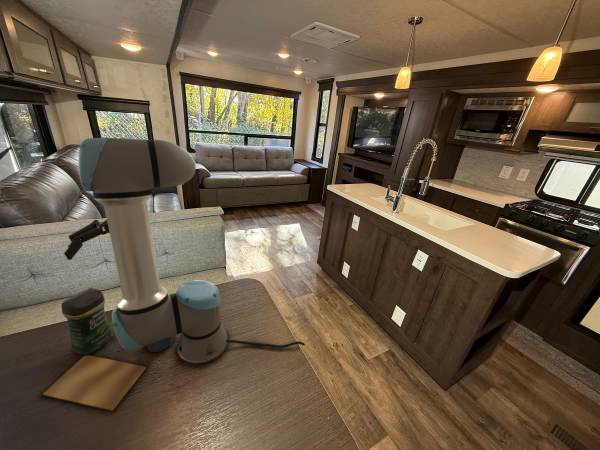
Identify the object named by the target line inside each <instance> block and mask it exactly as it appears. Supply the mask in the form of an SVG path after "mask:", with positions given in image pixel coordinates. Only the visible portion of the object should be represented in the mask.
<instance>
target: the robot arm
mask: <svg viewBox="0 0 600 450" xmlns="http://www.w3.org/2000/svg"><path fill="white" fill-rule="evenodd" d="M196 165H197V164H196V161H195V159H194V157H193V156H192V155H191V154H190V152H189V151H188V150H186V149H185V148H184V147H181V146H180V145H179V144H175V143H173V142H170V141H167V140H162V139H141V138H140V139H139V138H124V137H123V138H121V137H120V138H119V137H90V138H89V137H88V138H86V139H84V140H83V141H81V143H80V145H79V148H78V174H79V181H80V185H81V188H82V190H83V191H85V192H89V193H91V192H92V196H93V200H94V201H96V202H97V203H99V204H101V205H102V206H103V207H104V212H105V216H106V219H105V220H103V221H99V220H98V219H93V221H92V222H90V223H88V224H87V225H85V226H83V227H82V228H80V229H78V230H76V231H75V232H73V233H71V234H69V235H68V236H67V238H68V239H69V241H70V243H69V244H68V245H67V247H68V248H67V249H66V250H65V251H64V253H63V255H64V256H65V257H66V259H67V260H68V261H71V260H73V258H74V257H75V256H76V254H77V253H78V252H79V251H80V250H81V249H82V247H84V243H86V242H88V241H90V240H92V239H95V238H97V237H99V236H101V235H102V236H105V235H107V234H109V236H110V242H111V245H112V251H113V256H114V260H115V265H116V269H117V274H118V275H117V276H118V279H119V284H120V290H121V295H122V296H121V297H120V298H119V299H118V300H117V303H116V308H115V307H114V309H113V310H112V312H111V322H112V325H113V331H114V334H115V337H116V339H117V342H118V343H119V345H120V346H121V348H123V349H124V350H127V351H128V350H134V349H138V348H143V347H147V345H148V344H151V343H154V342H157V341H160V340H162V339H165V338H168V337H171V336H173V337H174V336H177V335H179V334H180V336H179V339H178V342H177V353H178V357H179V359H180V360H181V361H182V362H183V363H184V364H186V365H190V366H203V365H206V364H209V363H211V362H213V361H215V360H216V359H218V358H219V357H220V356H221V355H222V354H223V353H224V352H225V350H226V349H227V346H228V343H233V344H240V345H241V344H242V345H250V346H259V347H269V348H276V349H284V348H289V347H292V346H295V345H301V346H305V345H306V344H305V343H304V342H302V341H300V340H299V341H296V340H295V341H292V342H290V343H285V344H274V343H273V344H272V343H263V342H255V341H254V342H253V341H246V340H237V339H230V338H229V339H228V333H227V330H226V329H225V327H224V326H223V323H222V320H221V319H222V317H221V297H220V290H219V288H218V287H217V286H216V285H215V284H214V283H213V282H211V281H208V280H203V279H194V280H188V281H185V282H183V283H182V284H180V285H179V287H177V290H176V292H174V293H170V294H169V293H168V289H167V288H165V287H163V286H161V283H160V276H159V272H158V264H157V258H156V253H155V246H154V241H153V240H154V239H153V234H152V228H151V222H150V216H149V209H148V204H147V203H148V201H149V200H150V198H151V197H152V196H153V191H152V188H153V189H155V188H167V187H177V186H183V185H185V183H187V182H189V181H190V180H191V179H192V178H193V177H194V176H195V174H196V169H197V167H196Z"/></svg>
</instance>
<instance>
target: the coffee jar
mask: <svg viewBox="0 0 600 450" xmlns="http://www.w3.org/2000/svg"><path fill="white" fill-rule="evenodd" d="M105 303H106V297H105V296H104V293H103V291H102V290H100V289H97V288H93V287H89V288H87V289H85V290H83V291H80V292H78V293H76V294H74V295H72V296H70V297H69V298H66V299H65V300H64V301H62V303H61V307H60V308H61V314H62V315H63V317H64V318H65V319H66V320H67V324H68V329H69V334H70V344H71V349H72V352H74V353H76V354H78V355H83V356H85V355H91V354H93V353H95V352H96V351H98V350H99V349H101V347H103V346H104V345H106V344H107V343H108V342H109V341H110V340H111V339H112V337H113V330H112V327H111V325H110V323H109V320H108V318H107V315H106V310H105Z"/></svg>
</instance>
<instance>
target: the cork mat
mask: <svg viewBox="0 0 600 450" xmlns="http://www.w3.org/2000/svg"><path fill="white" fill-rule="evenodd" d="M147 368H148V367H147V366H143V365H139V364H133V363H128V362H125V361H119V360H114V359H108V358H104V357H99V356H93V355H91V354H86V355H83V356H82V357H81V358H80V359H79V360H78V361H77V362H76V363H75V364H74V365H72V366H71V368H69V369H68V370H66V372H65V373H63V375H62V376H60V377H59V378H58V379H57V380H56V381H55V382H54V383H53V384H52V385H51V386H50V387H49V388H47V389H46V390H45V391H44V392H43V393H42V396H45V397H49V398H53V399H58V400H62V401H65V402H71V403H75V404H80V405H84V406H88V407H93V408H98V409H102V410H106V411H111V412H113V411H115V409H116V408H117V407H118V406H119V404H120V403H121V402H122V400H123V399H124V398H125V397H126V395H127V394H128V393H129V391H130V390H131V389H132V388H133V386H134V385H135V384H136V383H137V382H138V380H139V379H140V377H141V376H142V375H143V374H144V372H145V371H146V370H147Z"/></svg>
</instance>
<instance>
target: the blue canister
mask: <svg viewBox="0 0 600 450" xmlns="http://www.w3.org/2000/svg"><path fill="white" fill-rule="evenodd" d="M173 341H174V336H171V337H168V338H165V339H162V340H160V341H157V342H154V343H151V344H148V345H146V348H147V350H148V351H150V352H152V353H159V352H162V351H165V350H166V349H168V348H169V347H170V346H171V345H172V344H173Z"/></svg>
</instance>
